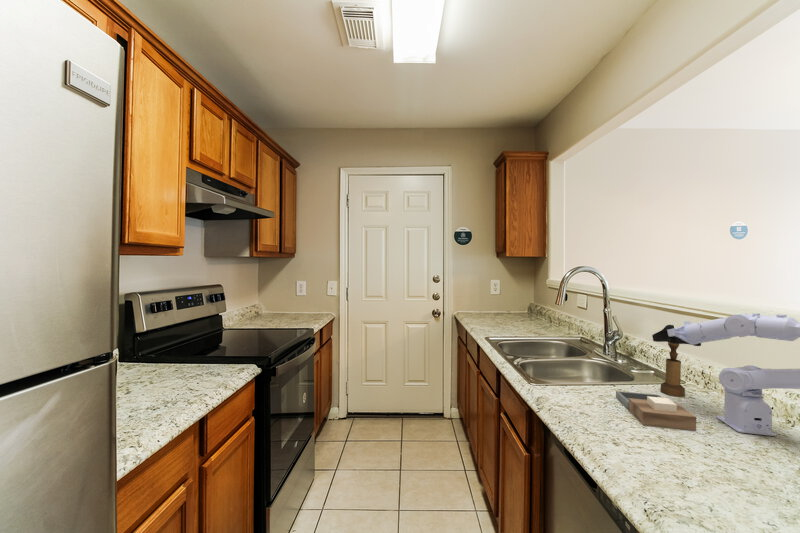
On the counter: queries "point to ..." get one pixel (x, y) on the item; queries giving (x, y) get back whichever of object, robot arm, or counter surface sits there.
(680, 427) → the wooden cutting board
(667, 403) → the tile
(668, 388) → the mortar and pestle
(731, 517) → the counter surface
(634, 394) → the box
